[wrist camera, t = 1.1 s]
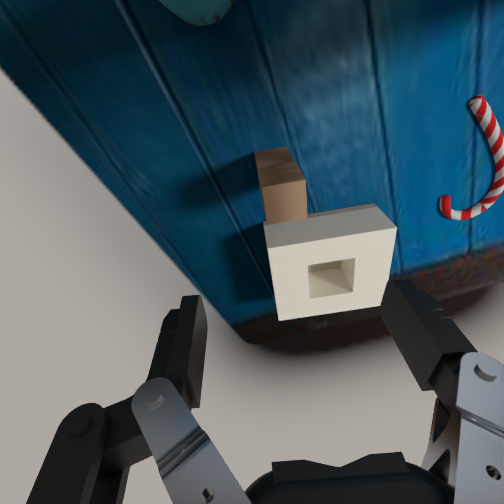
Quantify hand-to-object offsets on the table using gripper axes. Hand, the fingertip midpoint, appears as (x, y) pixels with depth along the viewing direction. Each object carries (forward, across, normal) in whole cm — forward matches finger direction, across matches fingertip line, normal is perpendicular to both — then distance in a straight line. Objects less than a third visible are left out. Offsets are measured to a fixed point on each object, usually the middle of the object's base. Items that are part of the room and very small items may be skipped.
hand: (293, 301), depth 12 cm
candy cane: (+23, -25, +3) cm, 34 cm away
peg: (+22, -1, +2) cm, 23 cm away
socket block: (+22, -8, +14) cm, 28 cm away
